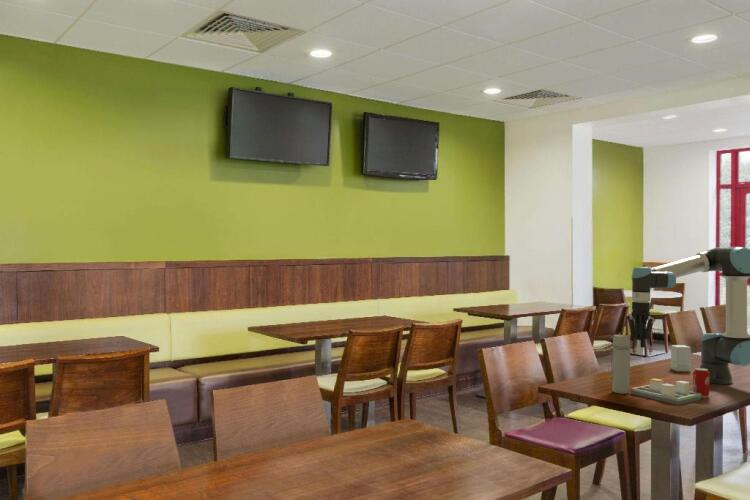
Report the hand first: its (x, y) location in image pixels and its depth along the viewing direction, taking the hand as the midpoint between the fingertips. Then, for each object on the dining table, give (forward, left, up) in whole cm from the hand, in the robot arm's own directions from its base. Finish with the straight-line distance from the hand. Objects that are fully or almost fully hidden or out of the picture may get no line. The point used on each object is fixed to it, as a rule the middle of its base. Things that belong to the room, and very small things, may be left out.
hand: (639, 354), depth 290 cm
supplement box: (-62, -18, -17) cm, 67 cm away
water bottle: (+10, -3, -17) cm, 20 cm away
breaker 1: (+5, +17, -15) cm, 23 cm away
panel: (0, +13, -16) cm, 21 cm away
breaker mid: (0, +8, -15) cm, 17 cm away
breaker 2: (-5, +17, -15) cm, 23 cm away
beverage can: (-14, +21, -17) cm, 30 cm away
